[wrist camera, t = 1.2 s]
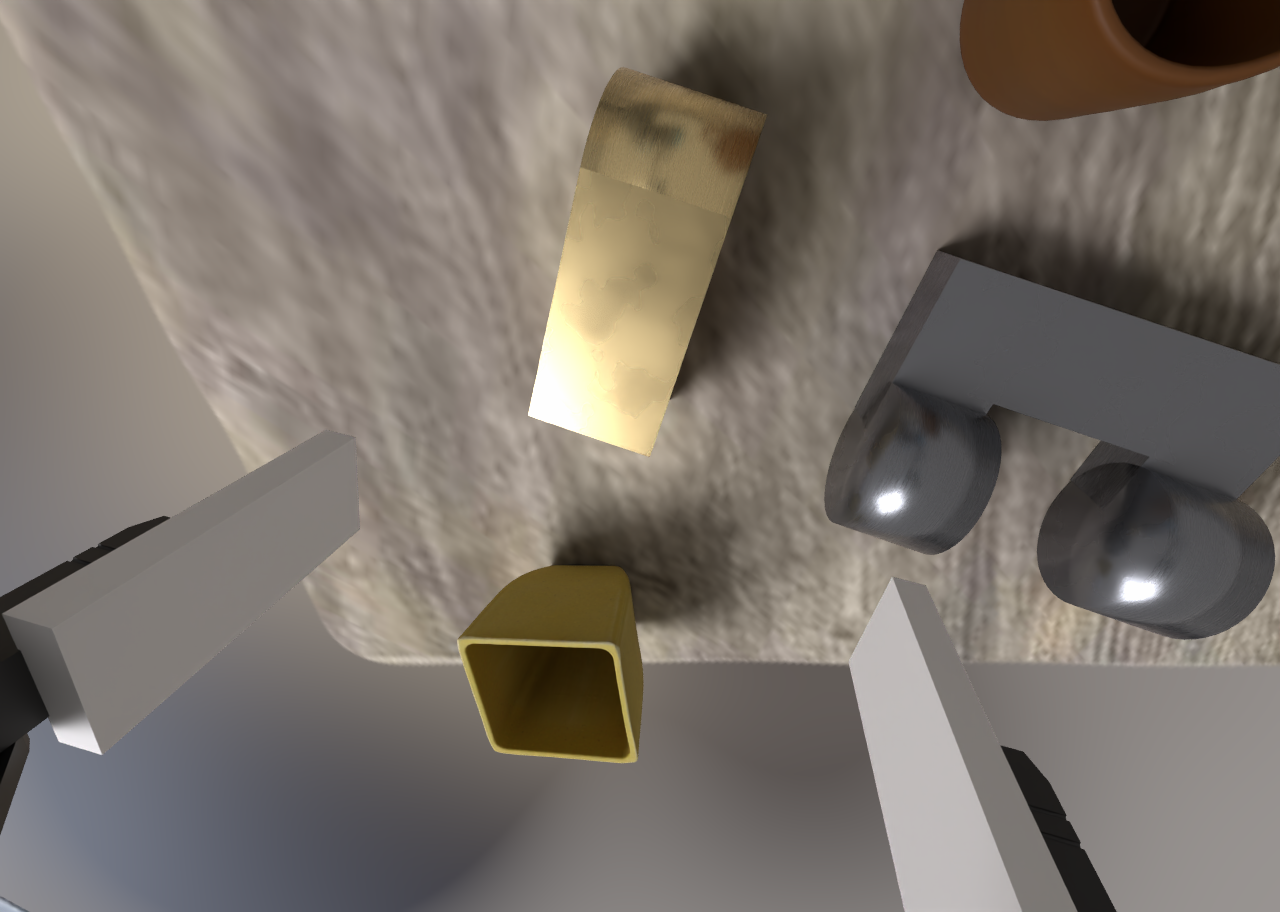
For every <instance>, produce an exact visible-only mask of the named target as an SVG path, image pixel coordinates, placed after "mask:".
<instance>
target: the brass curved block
mask: <svg viewBox="0 0 1280 912" xmlns="http://www.w3.org/2000/svg"><path fill="white" fill-rule="evenodd" d="M766 117H767V114H764V113H761V112H758V111H755V110H752V109H749V108H746V107H743V106H740V105H737V104H734V103H731V102H727V101H724V100H721V99H718V98H715V97H712V96H709V95H706V94H703V93H700V92H697V91H694V90H691V89H688V88H685V87H682V86H679V85H676V84H673V83H670V82H667V81H664V80H661V79H658V78H655V77H652V76H649V75H646V74H643V73H640V72H637V71H634V70H631V69H628V68H625V67H621V68H619V69H618V70H617V71H616V72H615V73H614V74H613V76H612V77H611V79H610V81H609V82H608V84H607V86H606V88H605V90H604V92H603V95H602V97H601V99H600V102H599V105H598V107H597V110H596V112H595V116H594V119H593V122H592V125H591V128H590V131H589V135H588V138H587V142H586V146H585V150H584V154H583V158H582V162H581V167H580V172H579V176H578V181H577V186H576V191H575V195H574V200H573V205H572V210H571V214H570V219H569V224H568V229H567V233H566V238H565V243H564V248H563V253H562V257H561V262H560V267H559V272H558V276H557V281H556V286H555V291H554V295H553V300H552V305H551V310H550V314H549V319H548V324H547V329H546V334H545V338H544V343H543V348H542V353H541V357H540V362H539V367H538V372H537V376H536V381H535V386H534V391H533V395H532V400H531V405H530V410H529V416H531V417H534V418H537V419H540V420H543V421H546V422H549V423H552V424H555V425H558V426H561V427H563V428H566V429H569V430H572V431H575V432H578V433H581V434H584V435H587V436H590V437H593V438H596V439H598V440H601V441H604V442H607V443H610V444H613V445H616V446H619V447H622V448H625V449H628V450H630V451H633V452H636V453H639V454H642V455H645V456H648V457H650V455H651V452H652V449H653V446H654V443H655V440H656V437H657V434H658V431H659V428H660V426H661V423H662V420H663V417H664V414H665V411H666V408H667V405H668V402H669V399H670V396H671V394H672V391H673V388H674V385H675V382H676V379H677V376H678V373H679V370H680V367H681V364H682V361H683V359H684V356H685V353H686V350H687V347H688V344H689V341H690V338H691V335H692V332H693V329H694V327H695V324H696V321H697V318H698V315H699V312H700V309H701V306H702V303H703V300H704V297H705V294H706V292H707V289H708V286H709V283H710V280H711V277H712V274H713V271H714V268H715V265H716V262H717V260H718V257H719V254H720V251H721V248H722V245H723V242H724V239H725V236H726V233H727V230H728V227H729V225H730V222H731V219H732V216H733V213H734V210H735V207H736V204H737V201H738V198H739V195H740V193H741V190H742V187H743V184H744V181H745V178H746V175H747V172H748V169H749V166H750V163H751V160H752V158H753V155H754V152H755V149H756V146H757V143H758V140H759V137H760V134H761V131H762V128H763V126H764V123H765V120H766Z"/></svg>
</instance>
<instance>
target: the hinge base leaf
mask: <svg viewBox="0 0 1280 912" xmlns="http://www.w3.org/2000/svg"><path fill="white" fill-rule="evenodd" d="M993 404H995V405H998V406H1001V407H1004V408H1007V409H1010V410H1013V411H1016V412H1018V413H1021V414H1024V415H1027V416H1030V417H1033V418H1036V419H1039V420H1042V421H1045V422H1048V423H1051V424H1054V425H1057V426H1060V427H1063V428H1066V429H1069V430H1072V431H1075V432H1078V433H1081V434H1084V435H1087V436H1090V437H1093V438H1095V439H1098V440H1101V441H1100V443H1099V444H1098V445H1097V447H1096V448H1095V449H1094V450H1093V452H1092V453H1091V454H1090V455H1089V457H1088V458H1087V459H1086V460H1085V462H1084V463H1083V464H1082V465H1081V467H1080V468H1079V469H1078V471H1077V472H1076V473H1075V474H1074V476H1073V477H1072V478H1071V479H1070V480H1071V482H1070V483H1069V484H1068V485H1067V486H1066V487H1065V488H1064V489H1063V490H1062V491H1061V492H1060V493H1059V495H1058V496H1057V497H1056V499H1055V500H1054V501H1053V503H1052V504H1051V506H1050V508H1049V509H1048V511H1047V513H1046V516H1045V518H1044V520H1043V523H1042V526H1041V529H1040V533H1039V538H1038V545H1037V558H1038V565H1039V569H1040V573H1041V575H1042V578H1043V580H1044V582H1045V583H1046V585H1047V587H1048V588H1049V589H1050V590H1051V591H1052V593H1053V594H1055V595H1056V596H1057V597H1058V598H1060V599H1061V600H1063V601H1065V602H1067V603H1069V604H1072V605H1075V606H1078V607H1080V608H1083V609H1086V610H1089V611H1092V612H1095V613H1098V614H1101V615H1104V616H1107V617H1110V618H1112V619H1115V620H1118V621H1121V622H1124V623H1127V624H1130V625H1133V626H1136V627H1139V628H1142V629H1145V630H1147V631H1150V632H1153V633H1156V634H1159V635H1162V636H1165V637H1170V638H1174V639H1184V640H1185V639H1199V638H1206V637H1209V636H1213V635H1216V634H1219V633H1221V632H1223V631H1226V630H1228V629H1230V628H1231V627H1233V626H1235V625H1236V624H1238V623H1239V622H1240V621H1242V620H1243V619H1244V618H1246V617H1247V616H1248V615H1249V614H1250V613H1251V612H1252V611H1253V610H1254V609H1255V608H1256V606H1257V605H1258V604H1259V602H1260V601H1261V600H1262V598H1263V597H1264V595H1265V593H1266V591H1267V589H1268V587H1269V585H1270V582H1271V579H1272V576H1273V571H1274V565H1275V551H1274V544H1273V540H1272V536H1271V534H1270V532H1269V530H1268V527H1267V526H1266V524H1265V523H1264V521H1263V520H1262V518H1261V517H1260V516H1259V515H1258V514H1257V513H1256V512H1255V511H1254V510H1253V509H1252V508H1250V507H1249V506H1248V505H1246V504H1245V503H1243V502H1241V501H1239V500H1237V498H1238V497H1239V496H1240V495H1241V494H1242V493H1243V492H1244V491H1245V490H1246V489H1247V488H1248V487H1249V486H1250V485H1251V484H1252V483H1253V482H1254V481H1255V480H1256V479H1257V478H1258V477H1259V476H1260V475H1261V474H1262V473H1263V472H1264V471H1265V470H1266V469H1267V468H1268V467H1269V466H1270V465H1271V464H1272V463H1273V462H1274V461H1275V460H1276V459H1277V458H1278V457H1279V456H1280V364H1278V363H1275V362H1272V361H1269V360H1266V359H1263V358H1260V357H1257V356H1254V355H1251V354H1248V353H1245V352H1242V351H1239V350H1236V349H1233V348H1230V347H1227V346H1224V345H1221V344H1218V343H1215V342H1212V341H1209V340H1206V339H1203V338H1200V337H1197V336H1194V335H1191V334H1188V333H1185V332H1182V331H1179V330H1176V329H1173V328H1170V327H1167V326H1164V325H1161V324H1158V323H1155V322H1152V321H1149V320H1146V319H1143V318H1140V317H1137V316H1134V315H1131V314H1128V313H1125V312H1122V311H1119V310H1116V309H1113V308H1110V307H1107V306H1104V305H1101V304H1098V303H1095V302H1092V301H1089V300H1086V299H1083V298H1080V297H1077V296H1074V295H1071V294H1068V293H1065V292H1062V291H1059V290H1056V289H1053V288H1050V287H1047V286H1044V285H1041V284H1038V283H1035V282H1032V281H1029V280H1026V279H1023V278H1020V277H1017V276H1014V275H1011V274H1008V273H1005V272H1002V271H999V270H996V269H993V268H990V267H987V266H984V265H981V264H978V263H975V262H972V261H969V260H966V259H963V258H960V257H957V256H954V255H951V254H948V253H945V252H942V251H939V250H937V252H936V254H935V256H934V258H933V260H932V262H931V263H930V265H929V267H928V269H927V271H926V273H925V275H924V277H923V279H922V281H921V282H920V284H919V286H918V288H917V290H916V292H915V294H914V296H913V298H912V300H911V301H910V303H909V305H908V307H907V309H906V311H905V313H904V315H903V317H902V319H901V320H900V322H899V324H898V326H897V328H896V330H895V332H894V334H893V336H892V338H891V339H890V341H889V343H888V345H887V347H886V349H885V351H884V353H883V355H882V357H881V358H880V360H879V362H878V364H877V366H876V368H875V370H874V372H873V374H872V376H871V377H870V379H869V381H868V383H867V385H866V387H865V389H864V391H863V393H862V395H861V396H860V398H859V400H858V402H857V404H856V406H855V409H854V411H853V413H852V414H851V416H850V418H849V419H848V421H847V423H846V425H845V427H844V429H843V431H842V433H841V435H840V438H839V440H838V443H837V445H836V448H835V450H834V453H833V456H832V459H831V463H830V466H829V470H828V474H827V479H826V485H825V499H824V501H825V510H826V514H827V516H828V518H829V520H830V521H832V522H833V523H836V524H839V525H842V526H844V527H847V528H850V529H853V530H856V531H859V532H862V533H865V534H868V535H871V536H874V537H877V538H879V539H882V540H885V541H888V542H891V543H894V544H897V545H900V546H903V547H906V548H909V549H911V550H914V551H917V552H920V553H923V554H928V555H934V554H939V553H942V552H944V551H946V550H949V549H950V548H952V547H953V546H955V545H956V544H957V543H958V542H960V541H961V540H962V539H963V538H964V537H965V536H966V535H967V534H968V533H969V531H970V530H971V529H972V528H973V526H974V525H975V524H976V522H977V521H978V519H979V518H980V516H981V515H982V513H983V511H984V509H985V508H986V506H987V504H988V502H989V499H990V497H991V495H992V492H993V490H994V487H995V484H996V480H997V477H998V473H999V468H1000V462H1001V440H1000V434H999V431H998V428H997V426H996V424H995V422H994V421H993V420H992V419H991V418H990V417H989V416H988V415H986V414H987V413H988V411H989V409H990V408H991V406H992V405H993Z"/></svg>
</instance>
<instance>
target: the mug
mask: <svg viewBox="0 0 1280 912" xmlns="http://www.w3.org/2000/svg"><path fill="white" fill-rule="evenodd" d="M960 47H961V55H962V59H963V64H964V67H965V70H966V73H967V75H968V78H969V80H970V81H971V83H972V85H973V86H974V88H975V90H976V91H977V92H978V93H979V94H980V96H981V97H982V98H983V99H984V100H985V101H986V102H988V103H989V104H990V105H991V106H993V107H994V108H996V109H998V110H999V111H1001V112H1003V113H1005V114H1008V115H1011V116H1014V117H1016V118H1021V119H1026V120H1039V121H1048V120H1058V119H1067V118H1072V117H1077V116H1083V115H1089V114H1096V113H1103V112H1109V111H1114V110H1119V109H1125V108H1130V107H1136V106H1141V105H1146V104H1152V103H1157V102H1162V101H1168V100H1172V99H1177V98H1181V97H1186V96H1190V95H1194V94H1198V93H1202V92H1205V91H1208V90H1211V89H1214V88H1217V87H1220V86H1223V85H1226V84H1230V83H1234V82H1238V81H1241V80H1244V79H1247V78H1250V77H1253V76H1256V75H1259V74H1262V73H1264V72H1267V71H1270V70H1272V69H1275V68H1277V67H1279V66H1280V0H964V4H963V8H962V15H961V22H960Z"/></svg>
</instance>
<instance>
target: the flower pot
mask: <svg viewBox="0 0 1280 912" xmlns="http://www.w3.org/2000/svg"><path fill="white" fill-rule="evenodd" d="M457 644H458V649H459V652H460V655H461V659H462V662H463V666H464V669H465V672H466V674H467V677H468V680H469V683H470V686H471V689H472V692H473V695H474V698H475V700H476V703H477V706H478V709H479V712H480V715H481V718H482V721H483V724H484V727H485V731H486V734H487V736H488V739H489V741H490V743H491V745H492V747H493V749H494V750H495V751H496V752H500V753H508V754H516V755H531V756H545V757H558V758H572V759H582V760H592V761H602V762H615V763H629V762H636V761H637V760H638V750H639V738H640V725H641V714H642V701H643V668H642V659H641V653H640V648H639V642H638V636H637V630H636V623H635V616H634V609H633V602H632V595H631V587H630V582H629V579H628V576H627V574H626V573H625V571H624V570H623V569H622V568H621V567H618V566H573V565H553V566H548V567H544V568H540V569H537V570H534V571H531V572H528V573H526V574H524V575H522V576H520V577H518V578H517V579H515V580H513V581H512V582H511V583H509V584H508V585H507V586H506V587H504V588H503V589H502V590H501V591H500V592H499V593H498V594H497V595H496V596H495V597H494V599H493V600H492V601H491V602H490V603H489V604H488V605H487V606H486V607H485V608H484V610H483V611H482V612H481V613H480V614H479V615H478V617H477V618H476V619H475V620H474V621H473V622H472V623H471V625H470V626H469V627H468V628H467V629H466V630H465V632H464V633H463V634H462V635H461V636H460V637H459V638H458V640H457Z"/></svg>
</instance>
